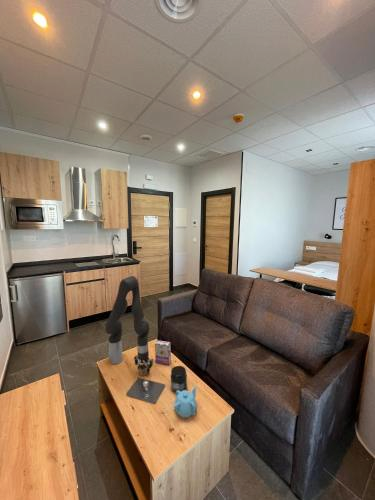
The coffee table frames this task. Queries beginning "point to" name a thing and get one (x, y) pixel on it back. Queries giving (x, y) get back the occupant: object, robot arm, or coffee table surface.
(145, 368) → the collar
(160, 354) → the candy bar box
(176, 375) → the supplement container
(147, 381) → the grey metal plate
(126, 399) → the coffee table surface
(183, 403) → the teapot
